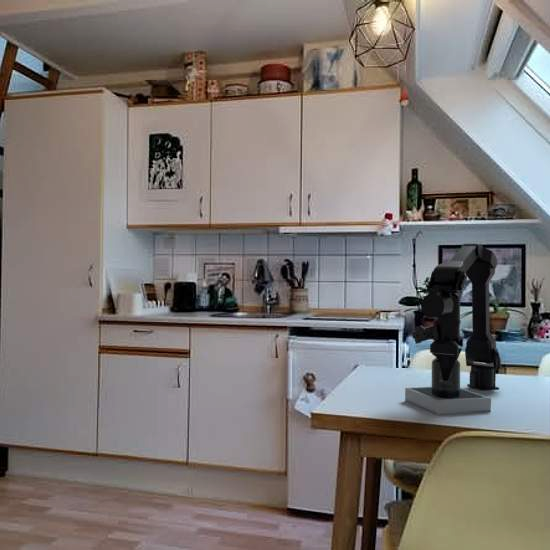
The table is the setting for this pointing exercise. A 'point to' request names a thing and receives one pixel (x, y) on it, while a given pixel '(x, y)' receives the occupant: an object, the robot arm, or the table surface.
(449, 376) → the robot arm
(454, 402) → the tub
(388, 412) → the table surface
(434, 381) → the supplement bottle
